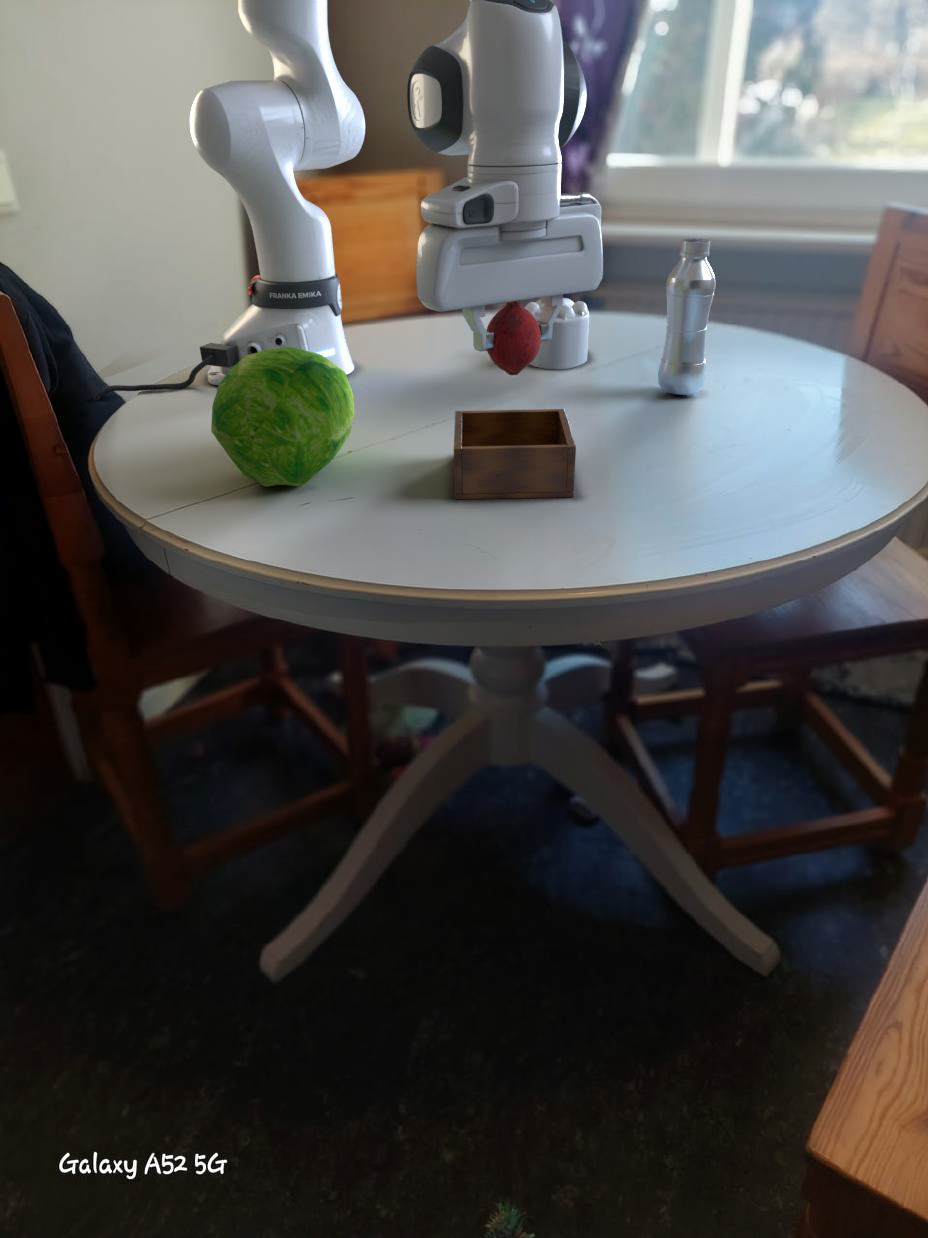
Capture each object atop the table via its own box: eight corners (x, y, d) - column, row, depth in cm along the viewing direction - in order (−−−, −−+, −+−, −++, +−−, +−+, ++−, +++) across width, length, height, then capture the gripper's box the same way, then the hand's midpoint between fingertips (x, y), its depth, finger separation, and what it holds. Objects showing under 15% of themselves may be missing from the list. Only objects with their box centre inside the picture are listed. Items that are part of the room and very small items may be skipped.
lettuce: (256, 452, 113) (370, 471, 112) (181, 480, 92) (321, 504, 90) (263, 334, 108) (383, 353, 107) (186, 335, 87) (334, 359, 86)
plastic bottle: (677, 402, 119) (693, 245, 109) (646, 390, 124) (659, 239, 114) (713, 395, 122) (733, 240, 111) (682, 383, 127) (698, 234, 117)
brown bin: (455, 499, 93) (453, 449, 90) (456, 457, 103) (455, 410, 100) (573, 497, 92) (576, 446, 89) (562, 455, 103) (564, 408, 100)
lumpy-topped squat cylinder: (582, 347, 146) (585, 293, 141) (591, 368, 135) (594, 310, 130) (520, 348, 146) (521, 294, 142) (524, 369, 135) (525, 311, 131)
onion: (536, 384, 89) (538, 302, 85) (481, 382, 90) (479, 301, 86) (543, 368, 94) (545, 290, 90) (490, 366, 95) (490, 289, 91)
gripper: (582, 187, 90) (576, 325, 97) (405, 202, 81) (412, 352, 89) (620, 192, 85) (611, 336, 92) (436, 208, 77) (442, 366, 84)
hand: (512, 344), depth 90 cm, fingers closed on onion, 6 cm apart
